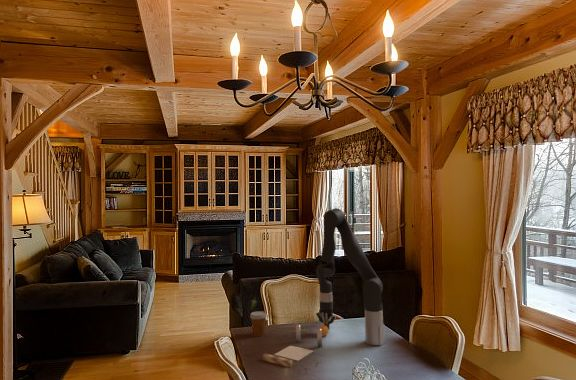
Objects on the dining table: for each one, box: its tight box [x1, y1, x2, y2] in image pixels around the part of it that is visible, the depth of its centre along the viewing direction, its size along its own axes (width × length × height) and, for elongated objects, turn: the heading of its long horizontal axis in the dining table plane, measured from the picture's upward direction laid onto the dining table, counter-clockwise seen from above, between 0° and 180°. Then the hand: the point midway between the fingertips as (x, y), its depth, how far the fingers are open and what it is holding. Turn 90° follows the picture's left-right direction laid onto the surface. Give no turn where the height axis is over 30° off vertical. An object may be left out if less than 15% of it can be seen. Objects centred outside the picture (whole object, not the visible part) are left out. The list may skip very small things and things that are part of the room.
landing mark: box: [273, 345, 314, 362], centre depth 202 cm, size 14×14×1 cm
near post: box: [316, 328, 323, 349], centre depth 210 cm, size 3×3×9 cm
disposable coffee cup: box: [249, 310, 268, 337], centre depth 230 cm, size 10×10×12 cm
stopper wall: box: [262, 353, 294, 368], centre depth 191 cm, size 16×2×2 cm, turn 55°
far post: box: [295, 323, 302, 344], centre depth 217 cm, size 3×3×9 cm
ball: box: [317, 324, 330, 337], centre depth 226 cm, size 6×6×6 cm
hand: (326, 330), depth 230 cm, fingers closed
